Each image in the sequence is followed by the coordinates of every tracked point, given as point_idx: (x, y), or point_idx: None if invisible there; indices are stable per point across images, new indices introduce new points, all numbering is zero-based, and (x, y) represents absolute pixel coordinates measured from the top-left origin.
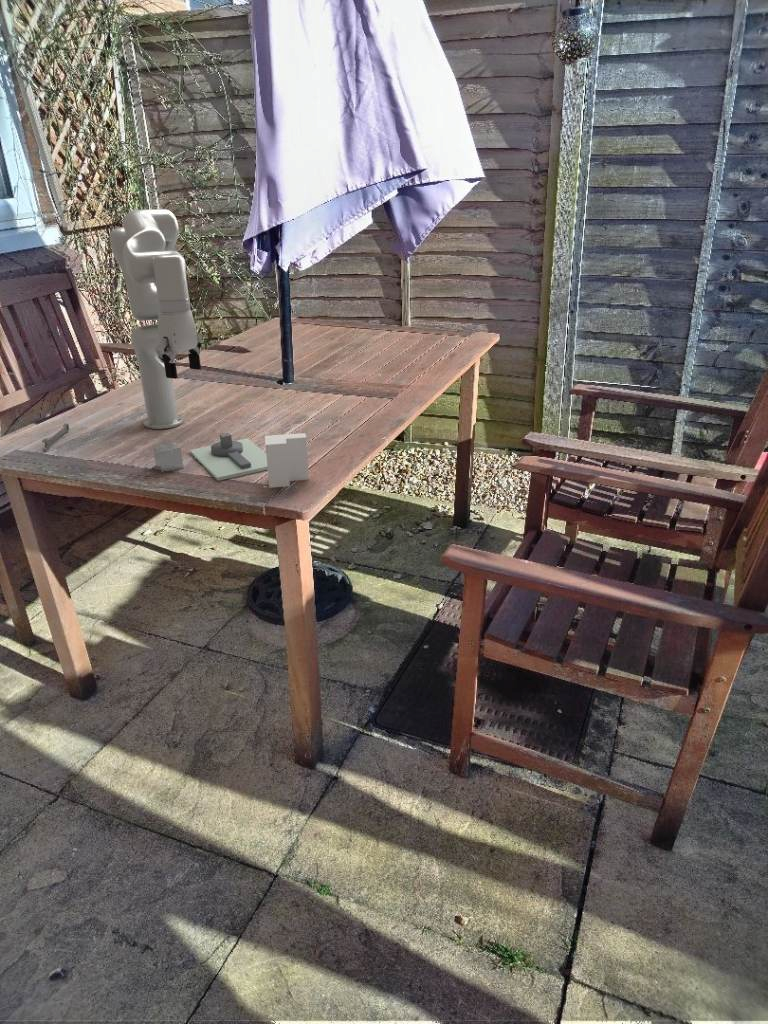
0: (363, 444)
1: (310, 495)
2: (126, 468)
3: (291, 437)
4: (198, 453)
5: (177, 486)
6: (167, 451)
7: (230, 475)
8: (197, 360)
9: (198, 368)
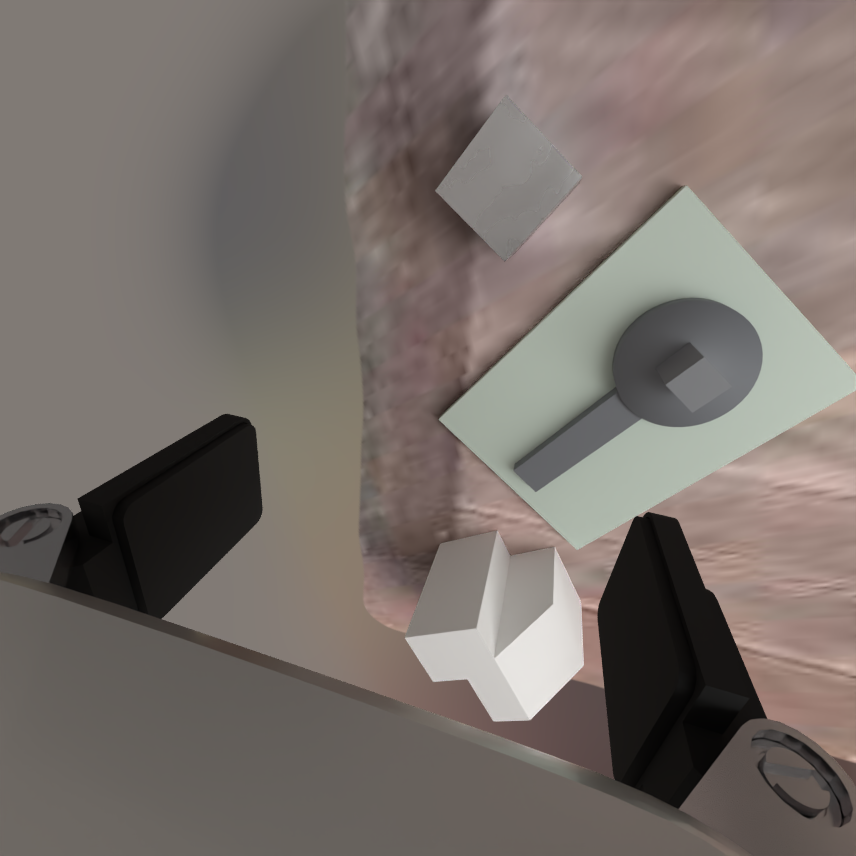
0: (795, 715)
1: None
2: None
3: (482, 690)
4: (642, 254)
5: (374, 317)
6: (463, 218)
7: (468, 445)
8: (610, 704)
9: (599, 614)
